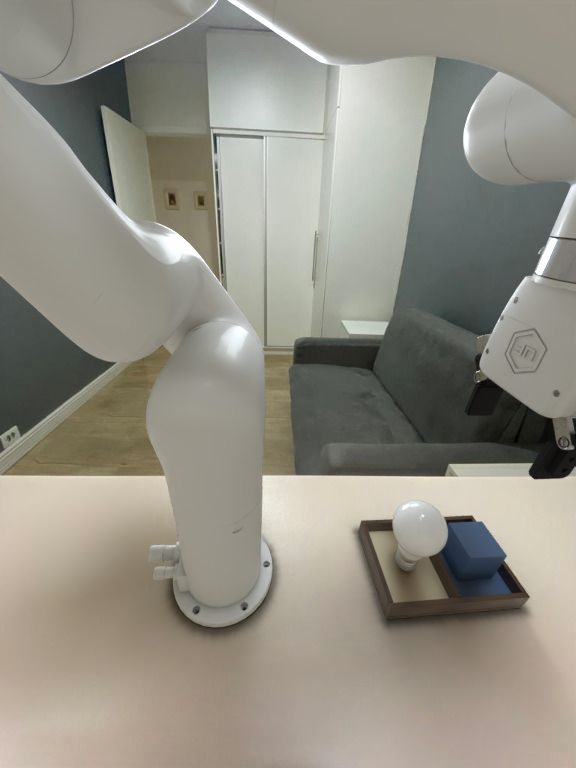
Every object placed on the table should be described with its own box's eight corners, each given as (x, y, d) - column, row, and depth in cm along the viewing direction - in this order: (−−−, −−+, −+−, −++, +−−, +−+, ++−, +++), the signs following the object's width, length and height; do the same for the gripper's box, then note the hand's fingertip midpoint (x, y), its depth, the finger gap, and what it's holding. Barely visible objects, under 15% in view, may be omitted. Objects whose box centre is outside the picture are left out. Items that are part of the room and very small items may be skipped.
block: (457, 580, 40) (470, 558, 38) (437, 544, 45) (448, 522, 42) (492, 578, 41) (507, 556, 39) (469, 543, 45) (482, 521, 43)
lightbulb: (378, 578, 40) (398, 524, 35) (381, 536, 45) (398, 483, 40) (430, 596, 39) (459, 542, 33) (427, 550, 44) (451, 497, 38)
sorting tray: (386, 619, 37) (390, 608, 36) (357, 531, 47) (360, 520, 46) (521, 608, 39) (530, 597, 38) (466, 525, 49) (472, 515, 48)
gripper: (480, 252, 31) (431, 397, 39) (695, 293, 16) (541, 514, 24) (548, 255, 32) (486, 397, 40) (813, 298, 17) (624, 510, 25)
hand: (506, 441), depth 32 cm, fingers open, 9 cm apart
